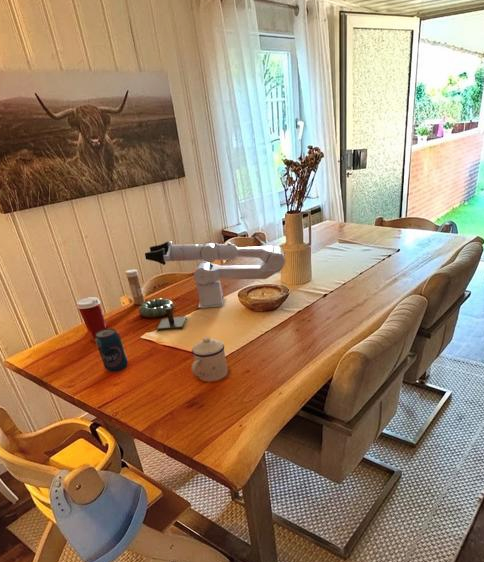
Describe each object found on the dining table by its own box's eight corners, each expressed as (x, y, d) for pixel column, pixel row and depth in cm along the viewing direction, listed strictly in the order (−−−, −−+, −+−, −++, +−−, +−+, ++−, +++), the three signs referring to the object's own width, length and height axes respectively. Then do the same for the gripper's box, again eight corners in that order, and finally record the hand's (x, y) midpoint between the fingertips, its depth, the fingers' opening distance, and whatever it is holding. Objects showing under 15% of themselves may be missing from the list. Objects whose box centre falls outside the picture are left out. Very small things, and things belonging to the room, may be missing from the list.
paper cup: (116, 334, 154) (104, 296, 146) (102, 344, 148) (88, 305, 140) (98, 332, 156) (85, 295, 148) (84, 342, 150) (69, 304, 142)
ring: (177, 304, 174) (175, 295, 172) (171, 317, 163) (168, 308, 161) (144, 307, 174) (142, 298, 172) (136, 320, 163) (133, 311, 161)
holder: (186, 318, 161) (183, 302, 157) (182, 329, 153) (178, 311, 149) (162, 320, 161) (158, 304, 157) (157, 331, 153) (153, 314, 150)
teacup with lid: (211, 364, 130) (204, 328, 124) (235, 370, 126) (229, 334, 119) (184, 383, 122) (175, 346, 115) (208, 390, 118) (200, 353, 111)
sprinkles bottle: (147, 302, 178) (138, 270, 170) (136, 305, 176) (127, 273, 168) (143, 299, 181) (134, 268, 173) (132, 302, 179) (123, 270, 172)
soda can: (106, 375, 129) (93, 339, 122) (105, 365, 134) (92, 330, 128) (130, 369, 131) (118, 333, 124) (127, 360, 136) (116, 325, 130)
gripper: (186, 236, 163) (150, 236, 163) (179, 247, 151) (141, 247, 151) (188, 255, 167) (153, 255, 167) (182, 267, 155) (144, 267, 155)
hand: (147, 253), depth 159 cm, fingers open, 7 cm apart
